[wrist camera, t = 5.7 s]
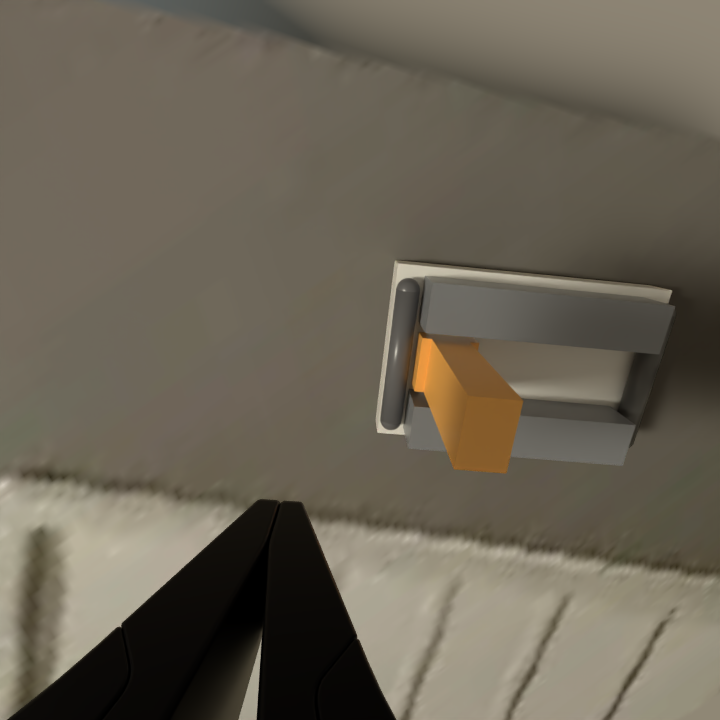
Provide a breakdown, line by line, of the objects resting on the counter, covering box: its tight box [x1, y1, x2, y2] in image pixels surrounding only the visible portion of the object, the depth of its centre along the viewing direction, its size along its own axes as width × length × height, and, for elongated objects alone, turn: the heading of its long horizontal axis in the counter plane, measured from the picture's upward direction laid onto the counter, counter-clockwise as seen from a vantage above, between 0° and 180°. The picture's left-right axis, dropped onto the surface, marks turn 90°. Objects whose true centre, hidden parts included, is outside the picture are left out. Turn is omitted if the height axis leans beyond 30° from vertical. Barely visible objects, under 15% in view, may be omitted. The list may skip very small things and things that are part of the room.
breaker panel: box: [376, 260, 676, 466], centre depth 19 cm, size 12×8×4 cm, turn 84°
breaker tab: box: [412, 332, 523, 473], centre depth 16 cm, size 2×2×7 cm
